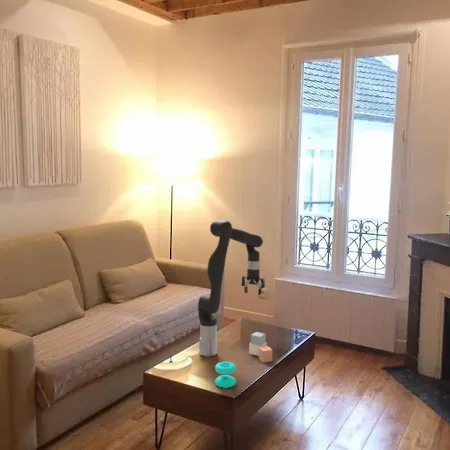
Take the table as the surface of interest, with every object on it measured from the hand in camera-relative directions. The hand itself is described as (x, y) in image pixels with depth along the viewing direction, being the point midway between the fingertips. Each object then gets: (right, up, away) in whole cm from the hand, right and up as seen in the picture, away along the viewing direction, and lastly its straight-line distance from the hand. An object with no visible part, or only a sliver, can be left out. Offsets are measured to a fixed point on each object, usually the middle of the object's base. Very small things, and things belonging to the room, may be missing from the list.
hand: (252, 293), depth 300 cm
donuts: (-17, -35, -64) cm, 74 cm away
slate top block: (+2, -24, -25) cm, 35 cm away
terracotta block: (+5, -31, -34) cm, 46 cm away
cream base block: (+1, -30, -24) cm, 38 cm away
